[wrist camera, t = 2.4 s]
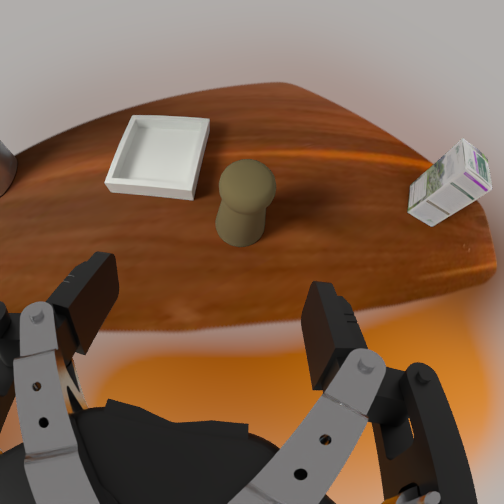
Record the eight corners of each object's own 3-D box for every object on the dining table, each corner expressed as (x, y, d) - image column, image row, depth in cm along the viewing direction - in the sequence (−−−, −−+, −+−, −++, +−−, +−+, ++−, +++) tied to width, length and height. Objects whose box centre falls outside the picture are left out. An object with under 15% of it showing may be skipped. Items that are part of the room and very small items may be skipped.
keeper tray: (111, 192, 33) (104, 183, 30) (136, 126, 36) (132, 115, 34) (193, 200, 34) (191, 190, 31) (209, 130, 37) (209, 118, 35)
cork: (236, 192, 35) (243, 138, 24) (274, 220, 34) (297, 174, 24) (205, 226, 33) (199, 180, 23) (244, 257, 33) (256, 222, 22)
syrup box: (432, 228, 37) (495, 191, 23) (405, 212, 37) (467, 166, 23) (433, 199, 39) (489, 159, 25) (408, 183, 39) (462, 135, 25)
